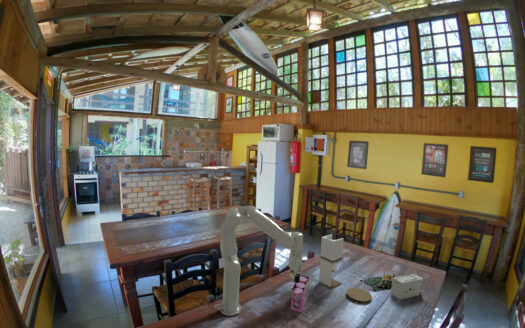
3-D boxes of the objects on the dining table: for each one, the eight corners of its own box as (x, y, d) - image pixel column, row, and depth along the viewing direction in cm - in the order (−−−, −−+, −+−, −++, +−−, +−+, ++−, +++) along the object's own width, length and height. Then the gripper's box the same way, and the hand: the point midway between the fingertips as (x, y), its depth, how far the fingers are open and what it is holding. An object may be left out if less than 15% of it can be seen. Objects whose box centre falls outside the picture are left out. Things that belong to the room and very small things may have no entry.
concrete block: (412, 290, 193) (414, 263, 191) (423, 297, 185) (425, 268, 183) (390, 295, 185) (392, 267, 184) (400, 302, 177) (402, 272, 176)
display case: (331, 290, 189) (334, 241, 186) (318, 283, 197) (321, 237, 194) (340, 285, 196) (343, 238, 193) (328, 279, 204) (331, 234, 202)
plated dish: (388, 273, 220) (389, 264, 219) (419, 291, 194) (420, 281, 193) (353, 279, 208) (354, 270, 207) (381, 299, 181) (382, 288, 181)
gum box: (301, 314, 160) (302, 293, 160) (289, 311, 163) (290, 290, 162) (308, 295, 182) (309, 276, 181) (297, 292, 184) (298, 274, 183)
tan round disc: (355, 306, 171) (355, 302, 170) (341, 293, 186) (341, 289, 186) (376, 303, 175) (377, 299, 175) (361, 290, 190) (361, 286, 190)
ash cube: (293, 282, 169) (294, 275, 168) (290, 279, 173) (290, 272, 172) (299, 281, 170) (300, 274, 170) (296, 278, 174) (296, 271, 174)
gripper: (284, 247, 177) (283, 274, 178) (297, 258, 161) (296, 287, 162) (294, 246, 179) (293, 273, 181) (308, 256, 164) (307, 285, 165)
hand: (295, 279), depth 171 cm, fingers closed on ash cube, 4 cm apart
